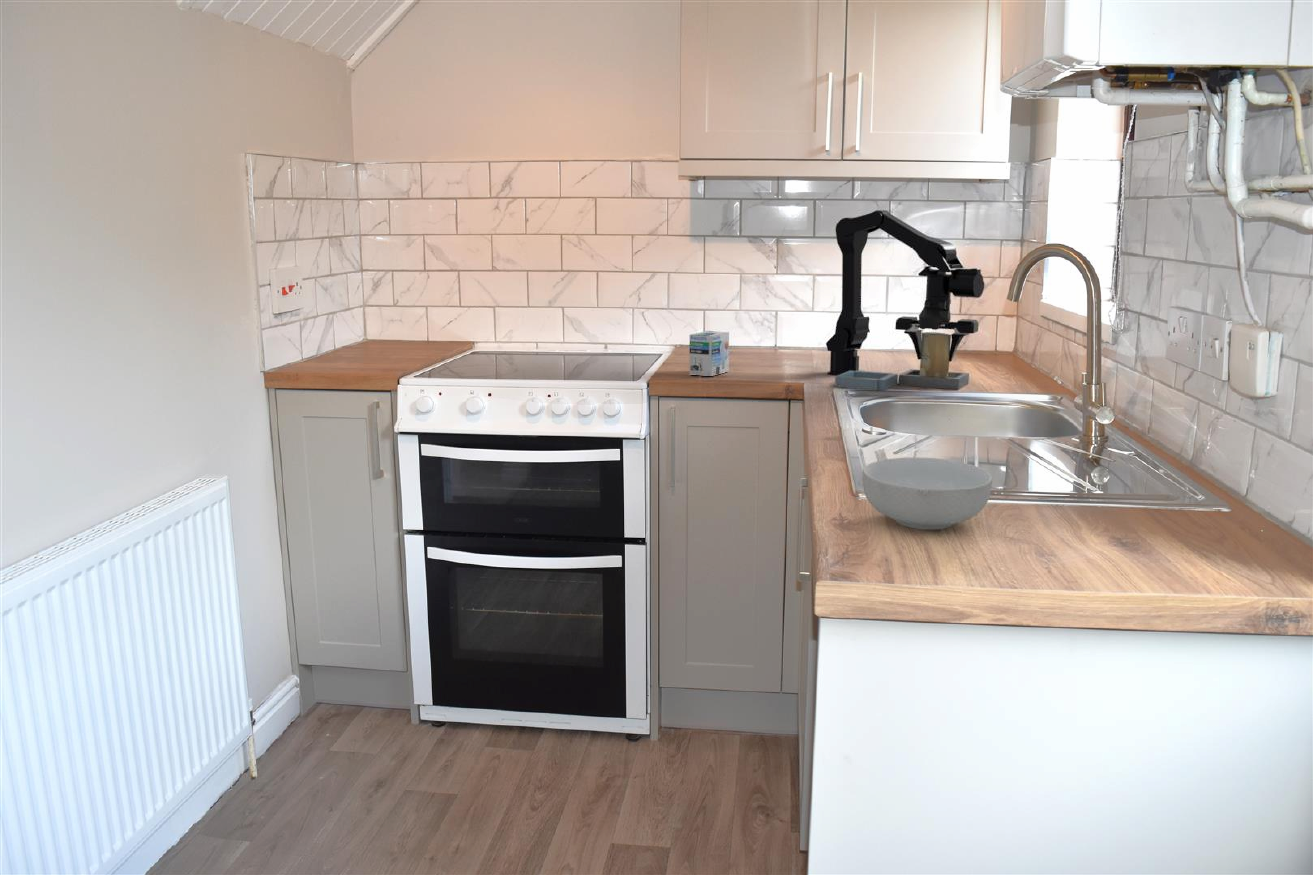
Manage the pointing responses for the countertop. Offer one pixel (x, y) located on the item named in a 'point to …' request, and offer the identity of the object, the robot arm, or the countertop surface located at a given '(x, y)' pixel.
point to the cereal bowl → (926, 491)
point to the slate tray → (866, 380)
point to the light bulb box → (709, 353)
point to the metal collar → (934, 380)
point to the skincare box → (935, 354)
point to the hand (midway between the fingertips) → (934, 360)
